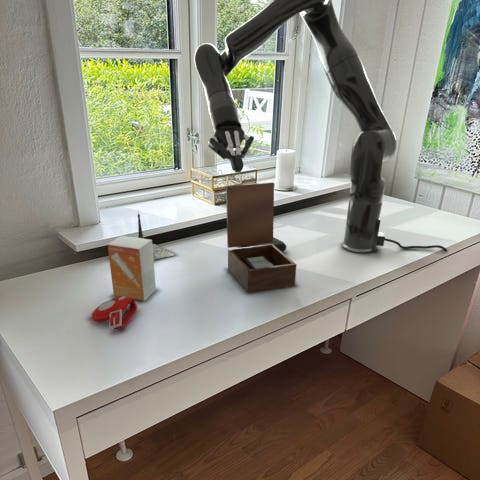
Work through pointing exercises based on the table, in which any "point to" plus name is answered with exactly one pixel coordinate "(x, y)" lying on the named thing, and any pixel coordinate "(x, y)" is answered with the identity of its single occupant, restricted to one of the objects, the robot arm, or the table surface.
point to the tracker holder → (115, 312)
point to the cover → (250, 214)
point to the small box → (132, 267)
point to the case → (266, 276)
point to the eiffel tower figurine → (157, 250)
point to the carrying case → (276, 242)
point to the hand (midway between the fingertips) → (238, 170)
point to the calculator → (257, 262)
